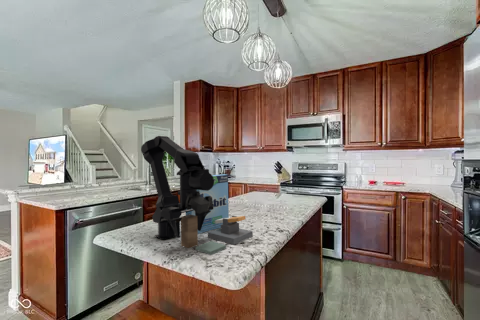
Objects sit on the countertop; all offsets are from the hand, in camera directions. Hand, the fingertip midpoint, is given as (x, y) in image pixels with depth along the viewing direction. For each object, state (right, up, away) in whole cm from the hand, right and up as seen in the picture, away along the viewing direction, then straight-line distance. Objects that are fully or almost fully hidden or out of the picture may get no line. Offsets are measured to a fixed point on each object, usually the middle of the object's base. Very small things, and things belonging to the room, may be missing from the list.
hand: (189, 233), depth 82 cm
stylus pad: (+8, -4, -4) cm, 10 cm away
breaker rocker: (+14, +3, +8) cm, 16 cm away
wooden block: (0, -4, 0) cm, 4 cm away
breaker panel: (+14, -4, +8) cm, 16 cm away
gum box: (+4, -4, +19) cm, 20 cm away
